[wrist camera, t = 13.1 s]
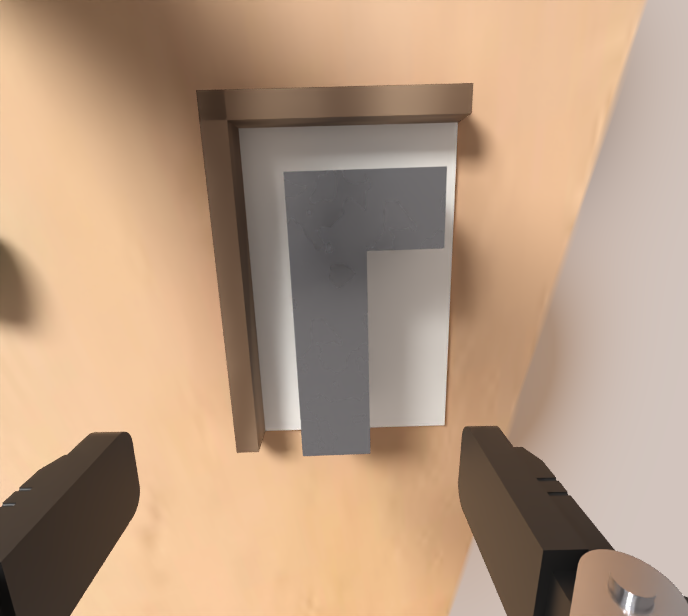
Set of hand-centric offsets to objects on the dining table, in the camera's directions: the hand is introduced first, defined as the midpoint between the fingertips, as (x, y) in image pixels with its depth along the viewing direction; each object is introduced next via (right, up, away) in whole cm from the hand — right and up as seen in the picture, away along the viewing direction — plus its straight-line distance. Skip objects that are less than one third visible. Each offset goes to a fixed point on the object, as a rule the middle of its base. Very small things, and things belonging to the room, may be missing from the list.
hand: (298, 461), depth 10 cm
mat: (+2, +5, +18) cm, 19 cm away
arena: (0, +5, +18) cm, 19 cm away
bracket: (+2, +4, +18) cm, 18 cm away
